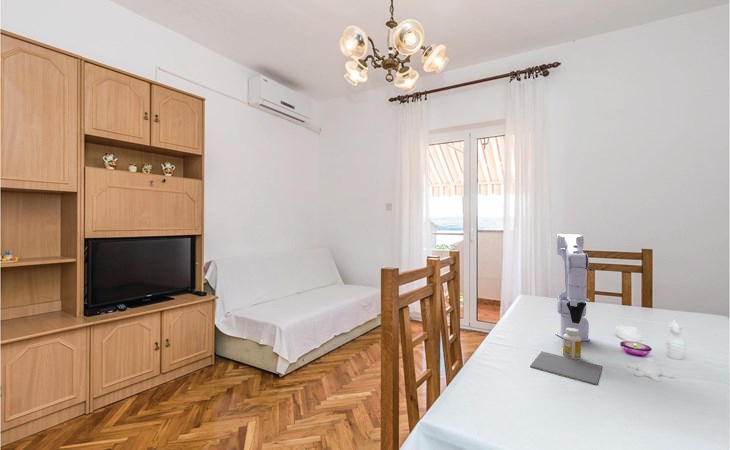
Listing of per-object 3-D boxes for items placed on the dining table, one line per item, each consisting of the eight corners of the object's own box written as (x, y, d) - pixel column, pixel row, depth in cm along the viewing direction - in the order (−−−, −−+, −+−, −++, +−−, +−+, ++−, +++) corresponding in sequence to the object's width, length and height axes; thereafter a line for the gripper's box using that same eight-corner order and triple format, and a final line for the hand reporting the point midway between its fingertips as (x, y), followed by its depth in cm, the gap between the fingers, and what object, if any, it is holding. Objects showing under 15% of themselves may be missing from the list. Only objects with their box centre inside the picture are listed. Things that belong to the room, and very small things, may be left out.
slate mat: (541, 352, 121) (541, 351, 121) (602, 366, 109) (602, 365, 109) (530, 367, 109) (530, 365, 109) (596, 385, 97) (596, 383, 97)
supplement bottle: (579, 355, 119) (580, 328, 119) (582, 361, 114) (582, 332, 114) (562, 352, 121) (562, 326, 121) (563, 358, 116) (564, 330, 116)
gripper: (587, 289, 115) (586, 329, 115) (592, 284, 126) (591, 320, 126) (563, 287, 119) (563, 324, 119) (570, 282, 130) (569, 316, 130)
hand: (576, 322), depth 123 cm, fingers closed
